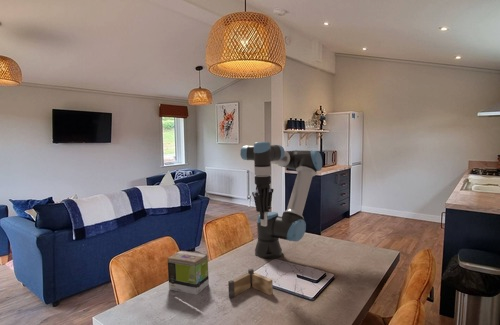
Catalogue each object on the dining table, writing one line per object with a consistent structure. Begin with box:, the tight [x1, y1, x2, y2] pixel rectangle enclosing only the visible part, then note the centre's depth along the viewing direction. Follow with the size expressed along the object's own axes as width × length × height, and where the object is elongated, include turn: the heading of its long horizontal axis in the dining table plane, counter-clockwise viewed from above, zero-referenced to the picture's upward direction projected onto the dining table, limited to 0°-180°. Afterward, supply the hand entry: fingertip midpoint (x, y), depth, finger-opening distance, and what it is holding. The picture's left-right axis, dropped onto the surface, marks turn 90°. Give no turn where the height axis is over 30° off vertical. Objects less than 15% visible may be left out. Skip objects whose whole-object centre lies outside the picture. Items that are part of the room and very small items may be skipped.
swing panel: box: [247, 268, 274, 296], centre depth 131 cm, size 13×2×7 cm, turn 46°
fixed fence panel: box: [227, 272, 252, 299], centre depth 130 cm, size 2×12×7 cm, turn 137°
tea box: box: [167, 250, 210, 296], centre depth 136 cm, size 15×10×15 cm, turn 65°
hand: (264, 225), depth 143 cm, fingers closed
